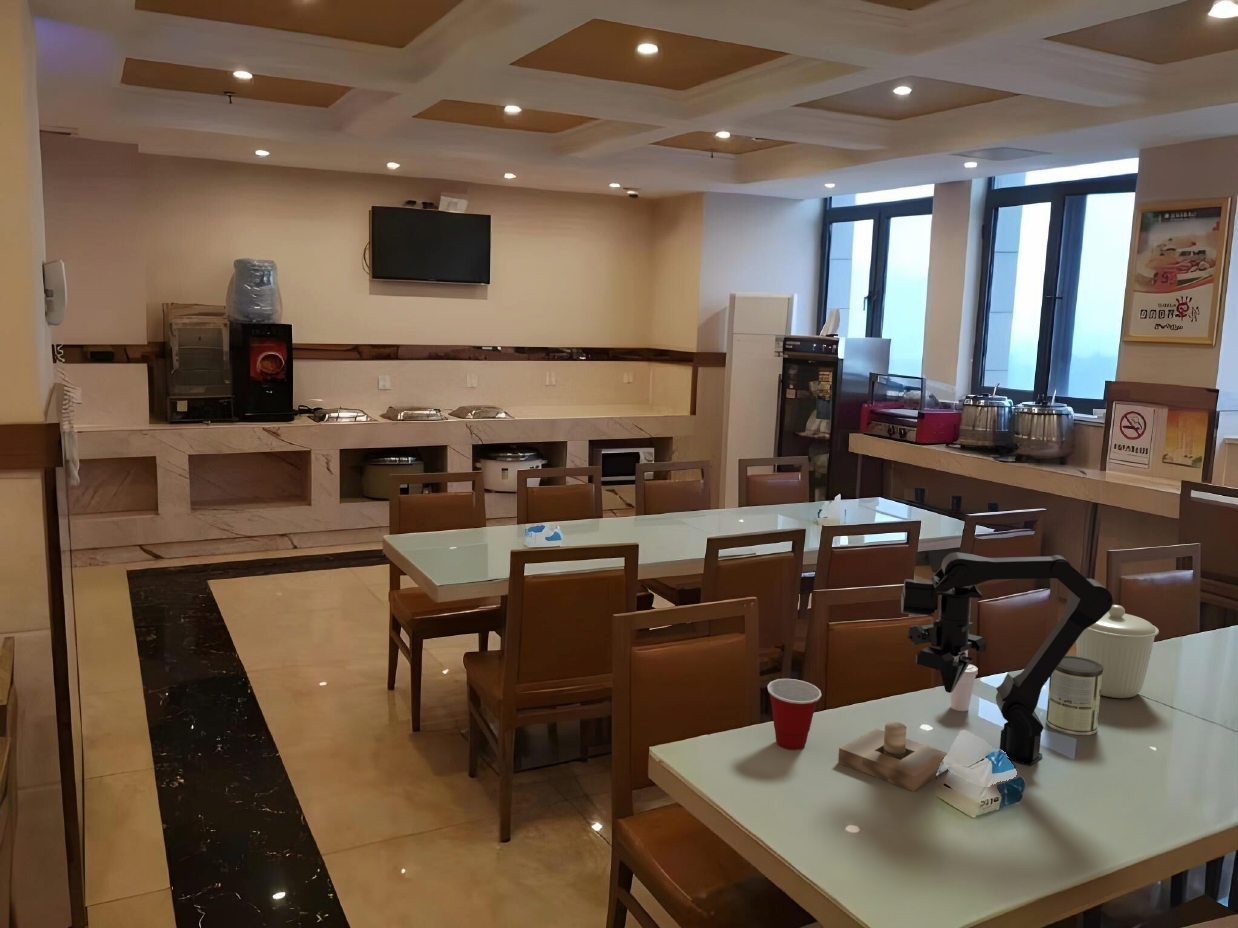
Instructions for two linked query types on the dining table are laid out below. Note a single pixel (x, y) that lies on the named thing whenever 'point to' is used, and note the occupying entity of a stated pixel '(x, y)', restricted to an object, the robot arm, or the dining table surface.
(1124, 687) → the canister
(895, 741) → the peg
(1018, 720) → the robot arm
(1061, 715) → the coffee can
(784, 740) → the plastic cup
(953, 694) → the smoothie
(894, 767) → the board
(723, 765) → the dining table surface
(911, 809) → the dining table surface
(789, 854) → the dining table surface
